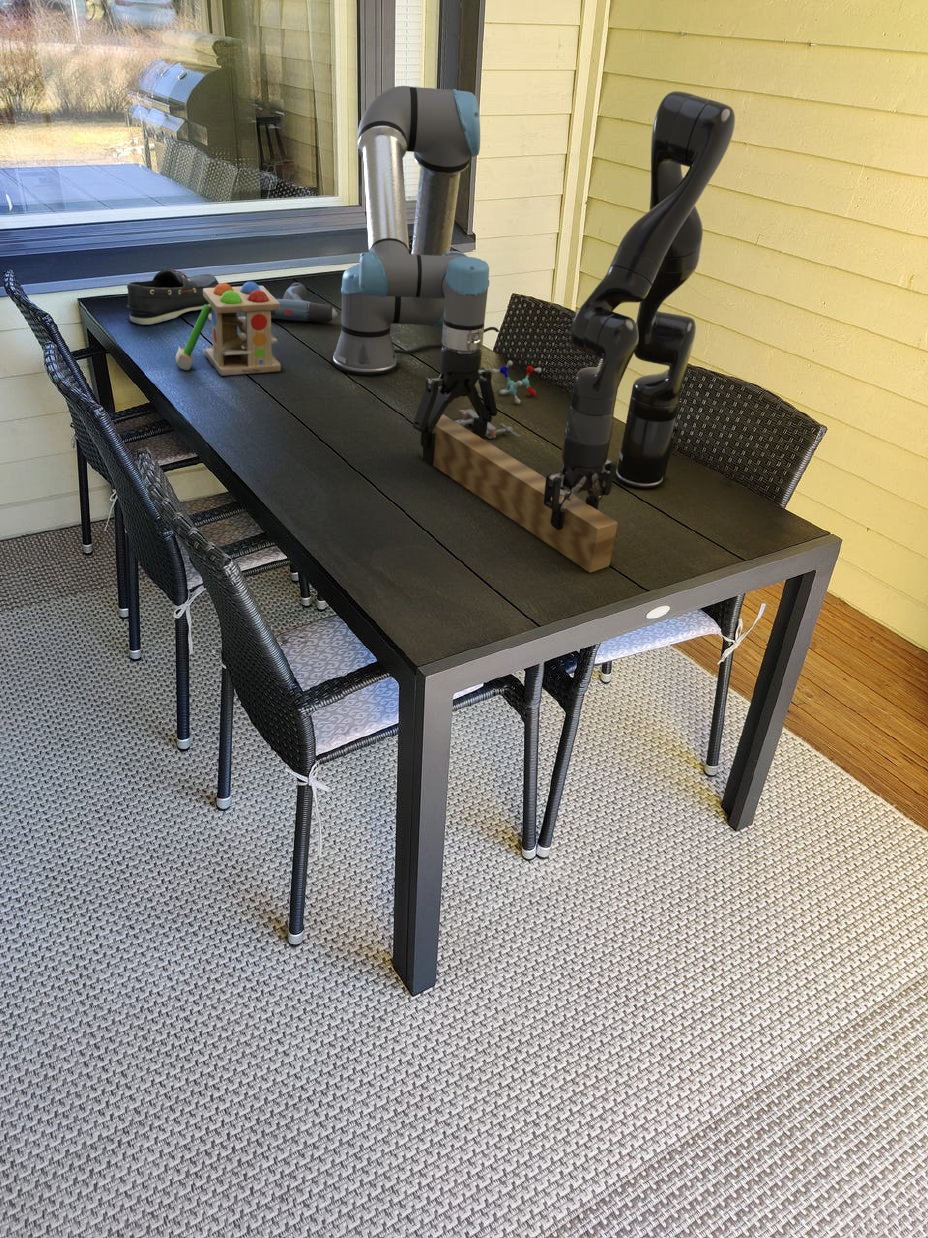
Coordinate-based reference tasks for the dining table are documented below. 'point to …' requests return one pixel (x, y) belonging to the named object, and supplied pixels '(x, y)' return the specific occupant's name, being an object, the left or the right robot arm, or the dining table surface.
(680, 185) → the right robot arm
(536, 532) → the bar
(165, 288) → the boat shoe
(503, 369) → the molecular model
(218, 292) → the pounding bench toy
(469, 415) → the clamp
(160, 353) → the dining table surface
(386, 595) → the dining table surface
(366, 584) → the dining table surface
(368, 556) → the dining table surface
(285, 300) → the power drill
